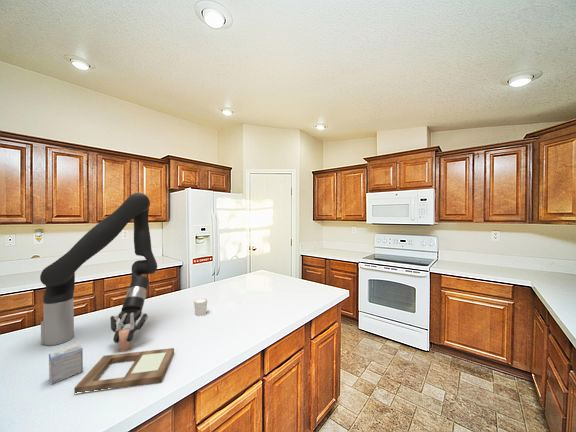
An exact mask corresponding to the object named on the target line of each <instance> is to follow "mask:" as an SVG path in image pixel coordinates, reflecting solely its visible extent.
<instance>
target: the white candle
mask: <svg viewBox="0 0 576 432" xmlns="http://www.w3.org/2000/svg"><path fill="white" fill-rule="evenodd" d="M193 306H194V315H195V316H196V317H197V316H198V317H200V316H201V317H202V316H204V315H206V314H207V309H208V299H207V298H197V299H195V300H194V301H193Z"/></svg>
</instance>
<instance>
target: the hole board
mask: <svg viewBox="0 0 576 432" xmlns="http://www.w3.org/2000/svg"><path fill="white" fill-rule="evenodd" d="M174 354H175V348H174V347H172V348H171V347H170V348H163V349H152V350H144V351H135V352H126V353H116V354H107V355H102V356H101V358H100V359H99V360H98V361H97V363H96V364H95V365H94V366H92V368H91V369H90V370H89V371H88V372H87V373H86V375H85V376H84V377H83V378H82V379H81V380H80V381H79V382H78V383H77V384H76V386H74V388H73V389H74V394H75V393H77V392H85V391H94V390H101V389H108V388H117V389H120V388H119V387H124V388H129V387H128V386H131V387H138V386H145V385H144V384H146V385H153V384H159V383H162V382H163V380H164V378H165V375H166V373H167V370H168V368H169V366H170V363H171V361H172V359H173V356H174ZM125 361H127V362H133V363H132V364H131V366H130V368H129V369H128V371H127V372H126V374H125V375H124V377H123V376H122V377H115V378H107V379H100V378H101V377H102V376H103V375H102V374H104V373H105V372H106V371H107V370H106V369H108V368H110V366H111V365H112V364H116V362H119V363H126V362H125ZM110 364H111V365H110ZM109 365H110V366H109ZM105 370H106V371H105ZM104 371H105V372H104ZM101 375H102V376H101ZM163 377H164V378H163ZM98 379H99V380H98ZM97 380H98V381H97ZM137 385H138V386H137Z"/></svg>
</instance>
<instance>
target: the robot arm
mask: <svg viewBox="0 0 576 432" xmlns="http://www.w3.org/2000/svg"><path fill="white" fill-rule="evenodd" d="M150 205H151V201H150V198H149V197H148V195H146V194H145V193H142V192H134V193H132V194H130V195H129V196H128V197H127V198H126V200H124V201H123V203H122V204H121V205H120V206H118V208H117V209H116V210H114V211H113V212H112V213H110V214H108V216H106V217H105V218H104V219H102V220H101V221H100V222H98V223H97V224H96V225H95V226H92V228H91V229H89V230H88V231H87V232H86V233H85V234H84V235H83V236H82V237H81V238H80V239H79V240H78V241H77V242H76V243H75V244H74V245H73V246H72V247H70V249H69V250H68V251H67V252H66V253H64V254H63V255H62V256H61V257H59V258H58V259H57V260H55V261H54V262H52V263H50V264H49V265H47V266H46V267H45V268H43V269H42V271H41V273H40V276H39V278H40V282H41V283H42V284H43V285H44V286H45V290H44V295H43V296H42V297H43V298H42V303H43V308H42V309H43V320H42V321H40V345H42V346H43V345H44V346H50V347H51V346H56V345H60V344H64V343H66V342H68V341H70V340H71V339H74V337H75V311H74V310H75V307H74V298H75V297H74V294H75V293H74V292H75V288H76V286H75V284H76V283H75V282H76V281H75V280H76V279H75V278H76V277H75V275H76V271H77V270H78V269H80V267H81V266H82V265H83V264H84V263H86V262H87V261H88V260H90V259H91V258H93V257H94V256H95V255H97V254H98V253H99V252H100V251H102V250H104V248H105V247H107V246H108V245H109V244H110V243H112V241H114V240H115V239H116V237H117V236H119V234H121V232H122V230H124V228H125V227H126V226H127V225H128V223H129V222H131V221H132V220H133V246H134V247H133V248H134V253H135V254H134V255H136V256H138V257H139V256H140V257H144V259H141V260H139V259H138V260H136V261H134V262H133V263H132V265H131V280H130V285H129V288H128V290H127V292H126V295H125V297H124V301H123V304H122V307H121V310H120V312H119V313H118V315H115V316H114V315H111V316H110V329H111V331H112V332H114V336H113V342H114V343H115V344H119V331H120V330H121V329H124V328H125V327H126V325H130V331H129V334H128V337H127V341H128V342H130V343H131V341H133V339H134V336H135V333H136V331H140V330H141V329H142V327H143V326H144V324H145V322H147V320H148V318H149V316H148V314H147V313H146V312H145V313H143V312H142V311H143V307H144V303H145V300H146V297H147V290H148V287H149V283H150V279H149V278H148V277H147V276H144V275H151V274H154V273H156V271H157V270H158V263H157V260H156V258H155V255H154V253H153V250H152V239H151V232H150V226H149V210H150ZM118 320H119V322H118ZM137 320H139V321H138V323H137ZM117 322H118V324H117Z"/></svg>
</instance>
